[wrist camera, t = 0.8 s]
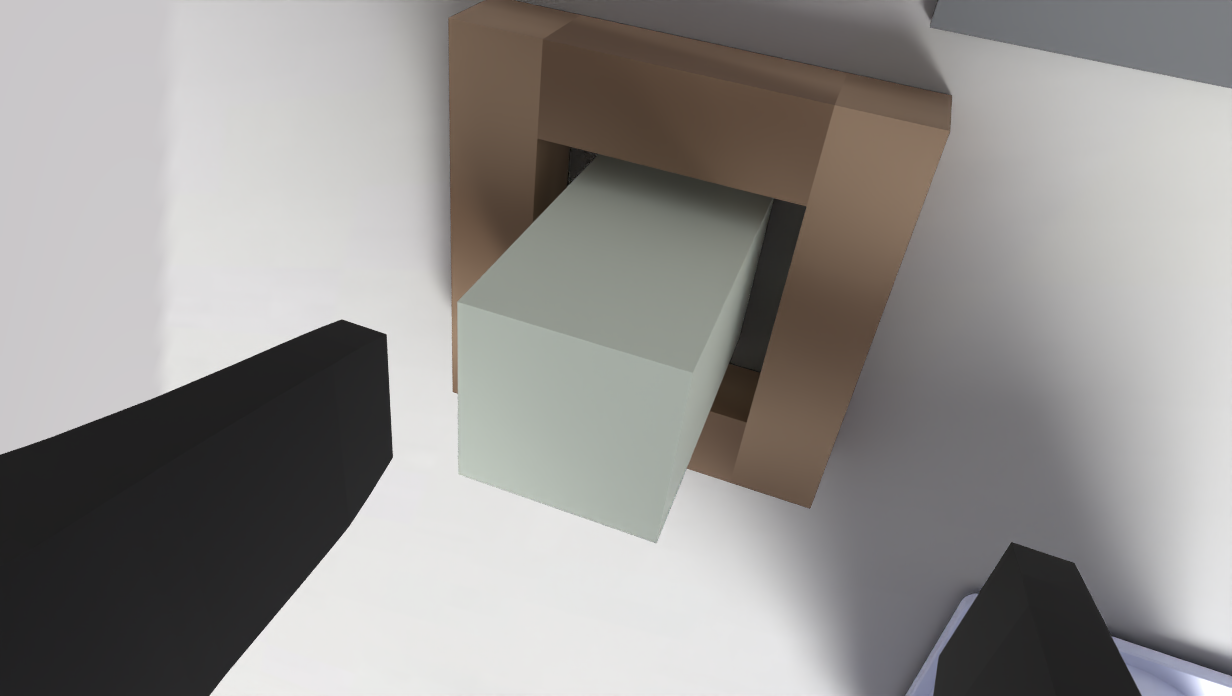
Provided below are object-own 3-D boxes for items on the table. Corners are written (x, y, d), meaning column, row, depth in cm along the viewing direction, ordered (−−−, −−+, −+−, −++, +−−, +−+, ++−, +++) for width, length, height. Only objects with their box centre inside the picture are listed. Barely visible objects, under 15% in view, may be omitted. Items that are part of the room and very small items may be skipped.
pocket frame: (821, 455, 22) (809, 508, 20) (486, 350, 23) (453, 391, 22) (951, 95, 16) (950, 131, 14) (494, -4, 18) (448, 17, 16)
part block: (739, 338, 20) (656, 543, 15) (588, 294, 21) (458, 474, 16) (775, 191, 18) (692, 372, 13) (604, 148, 19) (457, 301, 13)
